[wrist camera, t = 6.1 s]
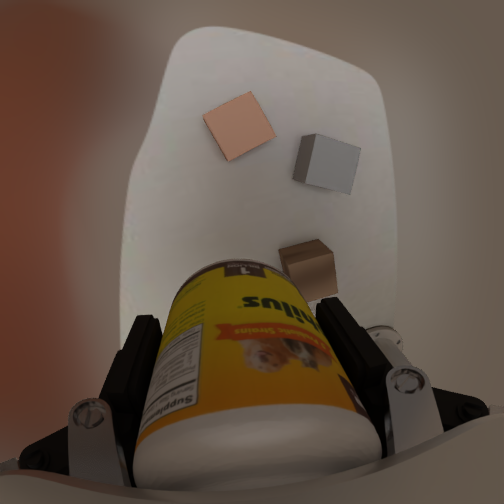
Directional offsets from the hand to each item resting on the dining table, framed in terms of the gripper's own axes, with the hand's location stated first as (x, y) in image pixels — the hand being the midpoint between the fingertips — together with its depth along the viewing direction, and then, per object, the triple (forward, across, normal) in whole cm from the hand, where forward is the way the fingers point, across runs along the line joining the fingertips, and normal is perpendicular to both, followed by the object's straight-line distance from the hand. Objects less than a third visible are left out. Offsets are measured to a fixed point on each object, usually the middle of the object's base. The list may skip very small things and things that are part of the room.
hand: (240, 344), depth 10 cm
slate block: (+23, -11, -5) cm, 26 cm away
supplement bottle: (+2, 0, 0) cm, 2 cm away
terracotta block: (+23, -2, -9) cm, 25 cm away
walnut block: (+23, -9, +7) cm, 26 cm away
